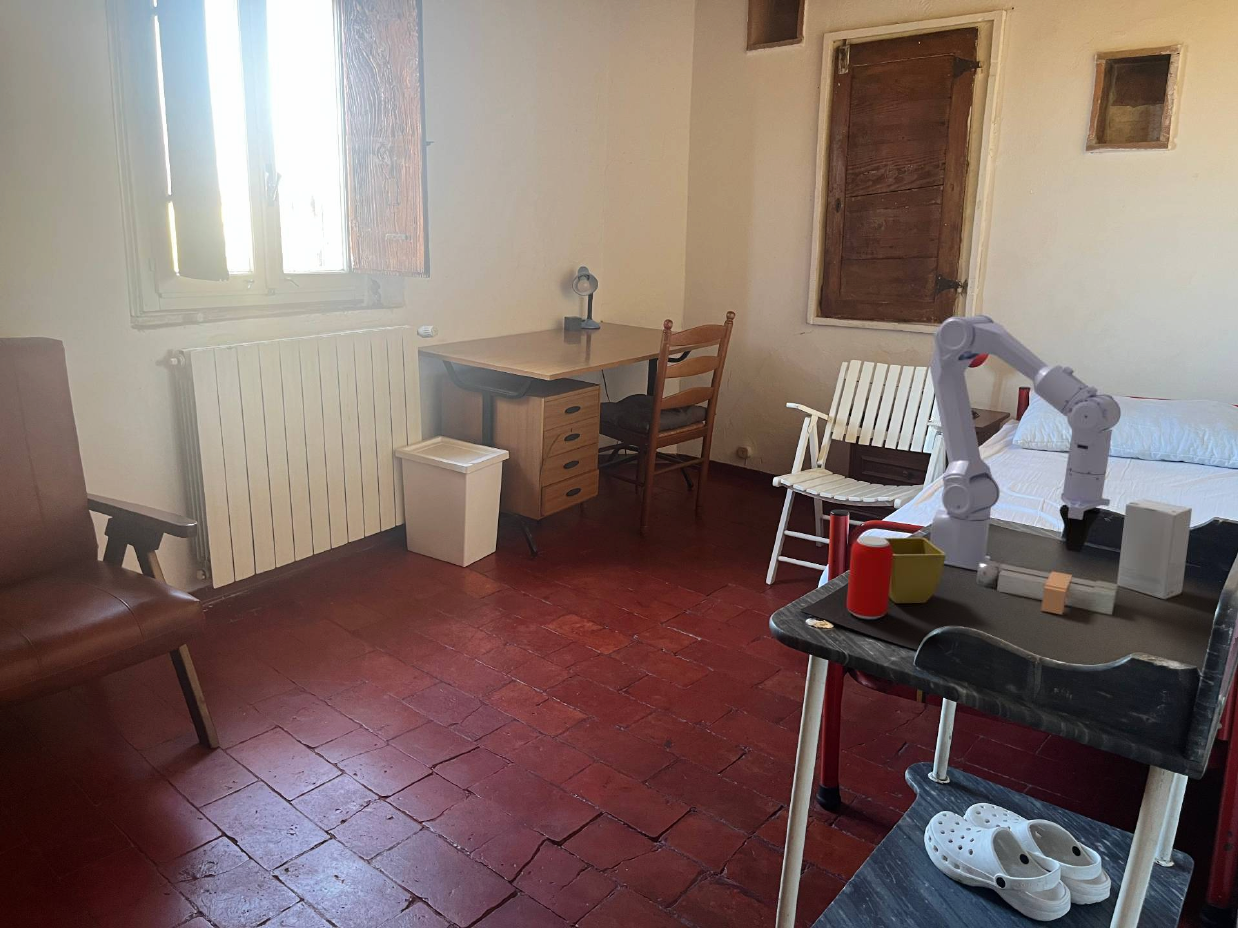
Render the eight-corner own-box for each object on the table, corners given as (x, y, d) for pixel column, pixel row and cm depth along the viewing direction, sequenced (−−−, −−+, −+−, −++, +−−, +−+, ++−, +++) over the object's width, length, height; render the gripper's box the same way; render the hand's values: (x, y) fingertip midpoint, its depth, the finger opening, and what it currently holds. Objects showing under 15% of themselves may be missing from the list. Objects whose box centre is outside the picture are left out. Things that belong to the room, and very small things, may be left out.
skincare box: (1181, 594, 152) (1197, 508, 148) (1163, 601, 149) (1178, 514, 145) (1131, 578, 159) (1144, 496, 155) (1112, 584, 155) (1125, 501, 152)
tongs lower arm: (996, 591, 151) (998, 573, 151) (999, 586, 154) (1002, 568, 153) (1111, 614, 143) (1114, 595, 142) (1113, 609, 145) (1116, 590, 144)
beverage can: (840, 615, 140) (846, 541, 137) (854, 603, 145) (861, 531, 142) (878, 625, 137) (886, 549, 134) (892, 612, 142) (899, 539, 139)
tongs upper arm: (974, 584, 154) (976, 564, 153) (980, 575, 158) (982, 556, 157) (1112, 612, 144) (1115, 591, 143) (1114, 602, 147) (1118, 582, 147)
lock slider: (1041, 610, 143) (1044, 586, 142) (1048, 594, 150) (1052, 571, 149) (1061, 614, 142) (1065, 590, 141) (1068, 598, 148) (1072, 575, 148)
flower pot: (868, 588, 152) (872, 536, 149) (919, 587, 152) (924, 536, 150) (887, 609, 143) (893, 555, 141) (941, 608, 144) (947, 554, 142)
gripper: (1109, 483, 139) (1096, 567, 142) (1117, 465, 150) (1105, 543, 154) (1059, 476, 142) (1047, 558, 145) (1070, 459, 154) (1059, 535, 157)
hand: (1074, 550), depth 150 cm, fingers closed
